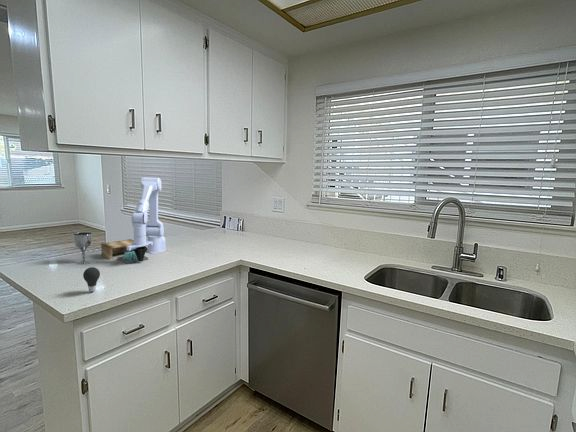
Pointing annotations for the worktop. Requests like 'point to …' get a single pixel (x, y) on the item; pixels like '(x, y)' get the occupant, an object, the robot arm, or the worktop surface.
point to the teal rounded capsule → (128, 256)
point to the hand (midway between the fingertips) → (140, 261)
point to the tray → (131, 260)
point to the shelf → (115, 247)
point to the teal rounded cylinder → (133, 255)
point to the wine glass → (82, 244)
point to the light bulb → (91, 277)
